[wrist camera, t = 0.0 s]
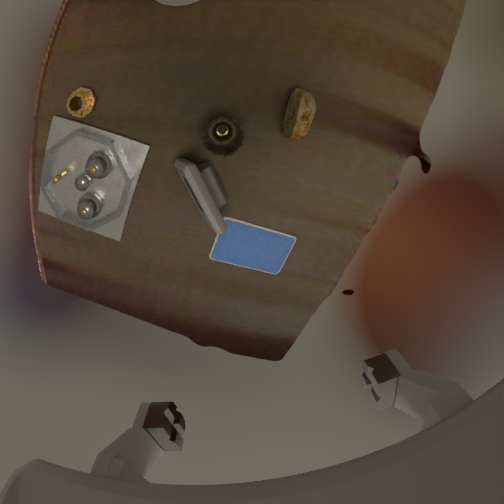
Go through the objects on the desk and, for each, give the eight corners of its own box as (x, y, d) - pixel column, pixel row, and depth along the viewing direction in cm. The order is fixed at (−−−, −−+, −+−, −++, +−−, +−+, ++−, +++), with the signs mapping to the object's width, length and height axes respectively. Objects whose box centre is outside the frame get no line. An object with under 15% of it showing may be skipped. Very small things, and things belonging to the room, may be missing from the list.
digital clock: (173, 155, 54) (164, 171, 45) (214, 145, 54) (214, 158, 45) (192, 220, 63) (189, 246, 54) (230, 212, 63) (233, 236, 54)
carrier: (56, 114, 43) (43, 119, 38) (150, 144, 51) (144, 151, 47) (40, 208, 54) (30, 219, 50) (121, 238, 63) (115, 251, 58)
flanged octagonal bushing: (77, 84, 40) (68, 85, 37) (100, 91, 42) (93, 92, 39) (68, 112, 43) (59, 115, 40) (91, 118, 45) (83, 122, 42)
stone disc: (294, 136, 54) (308, 147, 46) (277, 132, 53) (289, 142, 45) (307, 91, 49) (324, 94, 40) (290, 86, 48) (304, 88, 40)
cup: (200, 143, 53) (198, 152, 46) (208, 109, 49) (206, 113, 42) (235, 150, 55) (238, 160, 48) (244, 117, 51) (248, 122, 44)
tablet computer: (208, 256, 70) (208, 259, 69) (223, 214, 64) (223, 216, 63) (276, 272, 76) (277, 275, 75) (297, 235, 69) (298, 238, 68)
